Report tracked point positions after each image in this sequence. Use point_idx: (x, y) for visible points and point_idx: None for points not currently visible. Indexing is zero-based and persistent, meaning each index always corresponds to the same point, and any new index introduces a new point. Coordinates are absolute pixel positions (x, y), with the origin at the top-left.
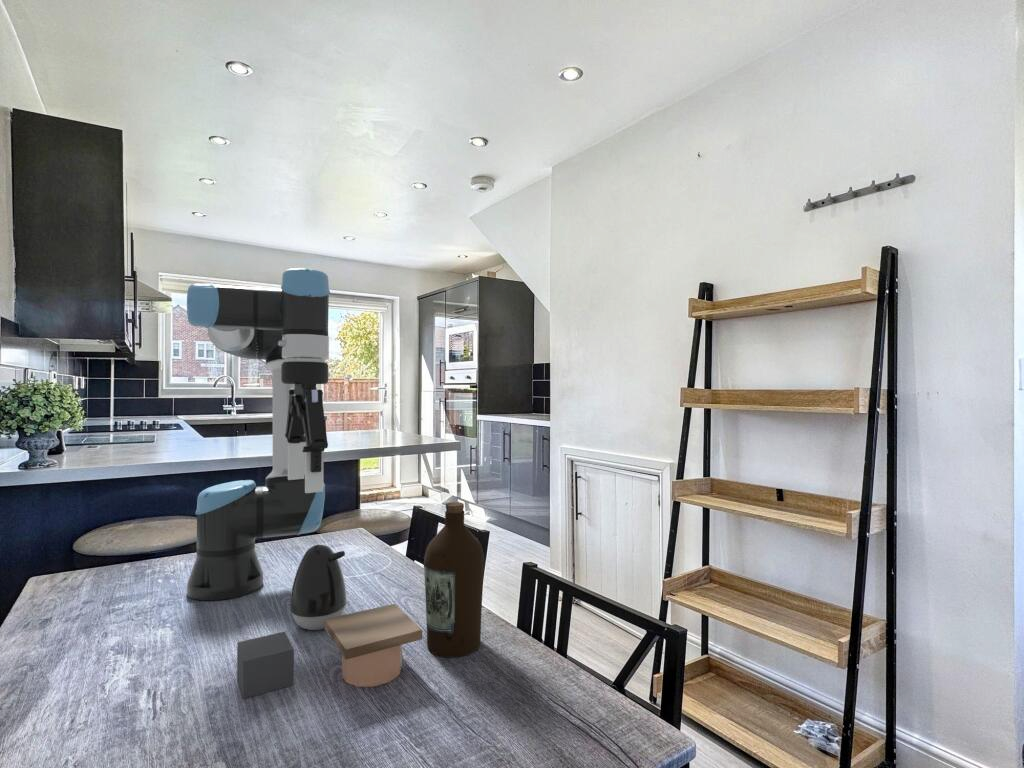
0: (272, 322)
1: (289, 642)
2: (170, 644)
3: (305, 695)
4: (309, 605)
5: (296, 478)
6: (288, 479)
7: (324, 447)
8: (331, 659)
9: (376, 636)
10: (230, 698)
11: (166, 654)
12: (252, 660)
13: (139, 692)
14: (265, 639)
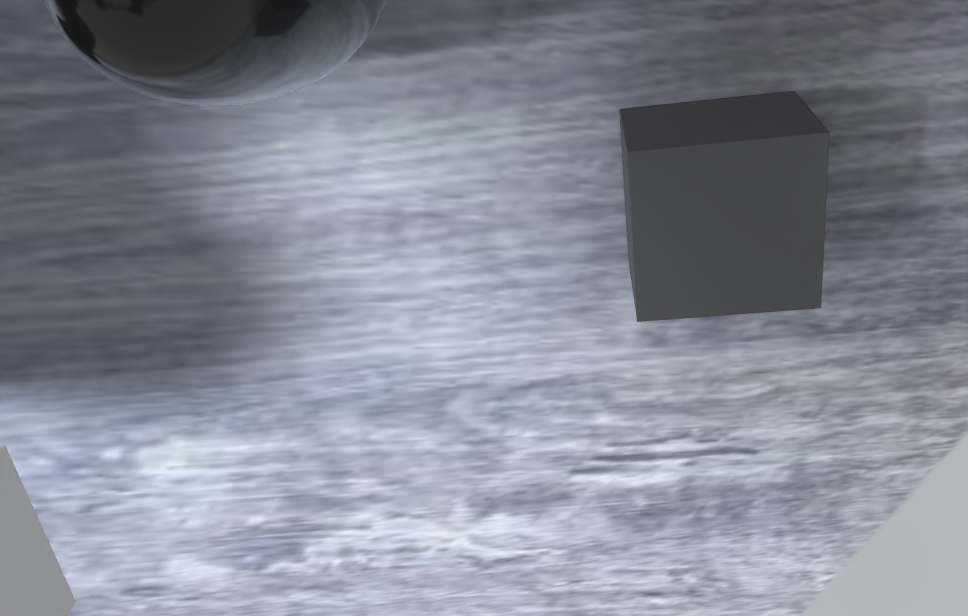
0: None
1: (754, 143)
2: (282, 441)
3: (895, 57)
4: (370, 15)
5: (38, 536)
6: (65, 606)
7: None
8: None
9: None
10: None
11: (355, 446)
12: (821, 277)
13: (580, 490)
14: (667, 228)
